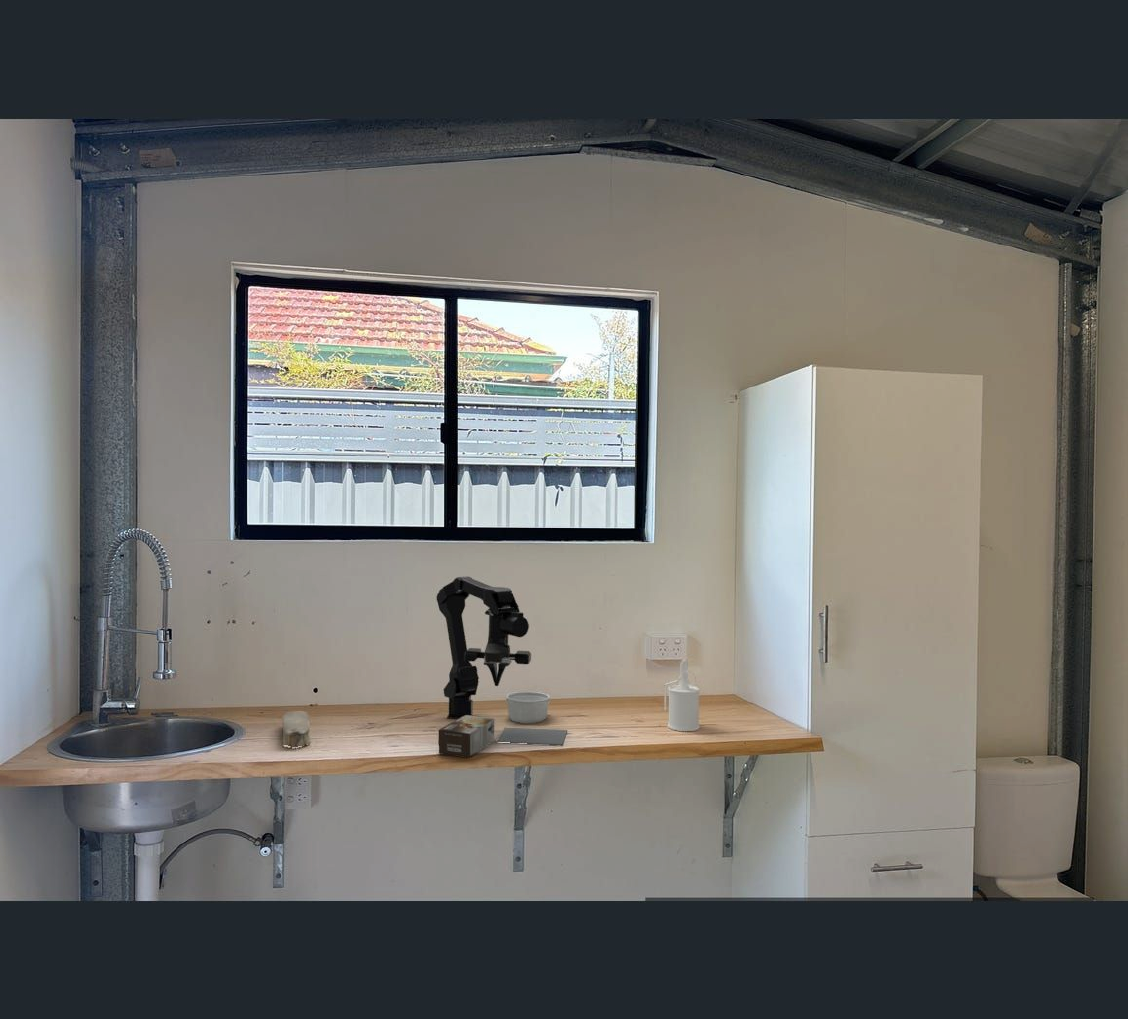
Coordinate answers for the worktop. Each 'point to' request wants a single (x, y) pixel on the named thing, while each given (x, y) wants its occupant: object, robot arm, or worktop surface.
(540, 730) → the mat
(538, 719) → the ramekin
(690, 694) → the oil can
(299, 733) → the shoe brush
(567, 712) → the worktop surface
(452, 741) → the coffee box
